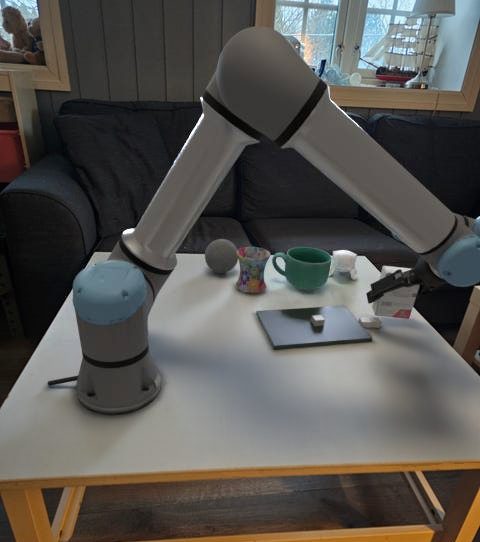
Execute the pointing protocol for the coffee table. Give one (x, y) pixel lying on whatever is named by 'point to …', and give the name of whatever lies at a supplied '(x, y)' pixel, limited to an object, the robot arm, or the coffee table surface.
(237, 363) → the coffee table surface
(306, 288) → the mug
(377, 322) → the chalk flake
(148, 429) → the coffee table surface
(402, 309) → the ink box
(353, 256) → the white figurine
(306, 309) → the slate board
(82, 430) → the coffee table surface
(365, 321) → the chalk flake
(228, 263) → the decorative ball
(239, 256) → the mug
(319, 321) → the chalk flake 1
